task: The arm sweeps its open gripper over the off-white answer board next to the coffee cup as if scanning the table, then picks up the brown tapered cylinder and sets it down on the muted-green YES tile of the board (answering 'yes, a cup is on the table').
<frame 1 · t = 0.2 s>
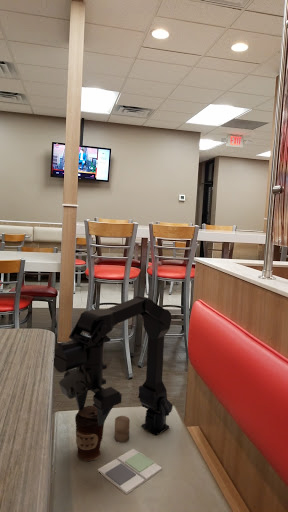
hand: (90, 417, 100), 14 cm above the table, fingers open, 9 cm apart
brown tapered cylinder: (121, 438, 116), on the table
coffee cup: (88, 455, 107), on the table
answer board: (130, 470, 102), on the table
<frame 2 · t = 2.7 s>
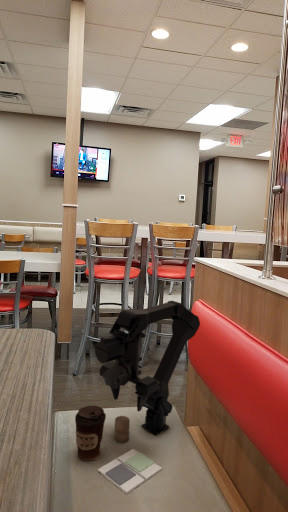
hand: (127, 405, 112), 12 cm above the table, fingers open, 9 cm apart
nothing on the table moved.
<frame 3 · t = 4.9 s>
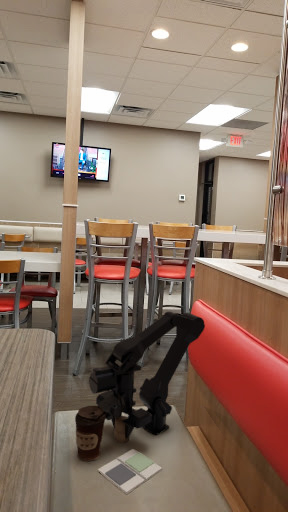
hand: (121, 434, 115), 1 cm above the table, fingers closed on brown tapered cylinder, 4 cm apart
brown tapered cylinder: (121, 438, 116), on the table, touching gripper
everything else where it was.
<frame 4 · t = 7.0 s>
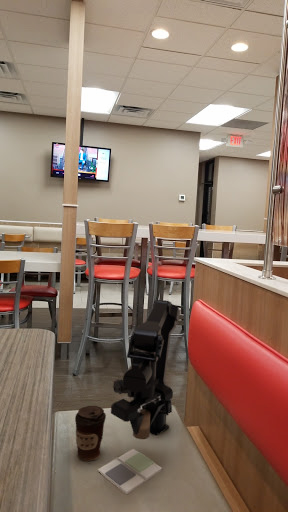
hand: (141, 430, 103), 10 cm above the table, fingers closed on brown tapered cylinder, 4 cm apart
brown tapered cylinder: (141, 434, 103), point 9 cm above the table, touching gripper
everything else where it was.
when the fingers open (3 cm above the table, at t = 8.9 s): brown tapered cylinder drops 1 cm, resting on answer board.
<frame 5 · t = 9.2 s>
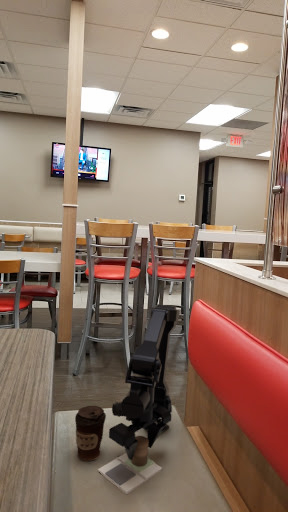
hand: (140, 453, 104), 3 cm above the table, fingers open, 7 cm apart
brown tapered cylinder: (139, 461, 104), point 1 cm above the table, touching answer board
everything else where it was.
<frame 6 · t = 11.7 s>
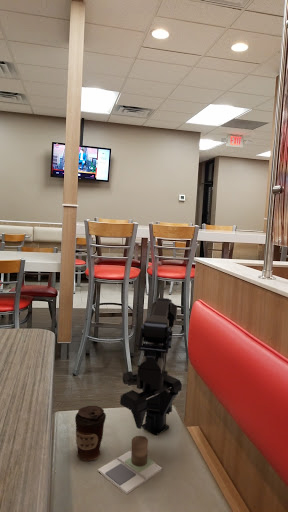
hand: (150, 421, 104), 12 cm above the table, fingers open, 9 cm apart
nothing on the table moved.
at the end: brown tapered cylinder 0.1 cm from the target spot on the answer board, point 1.1 cm above the answer board's base; brown tapered cylinder tilted 2°; the gripper is holding nothing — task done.
